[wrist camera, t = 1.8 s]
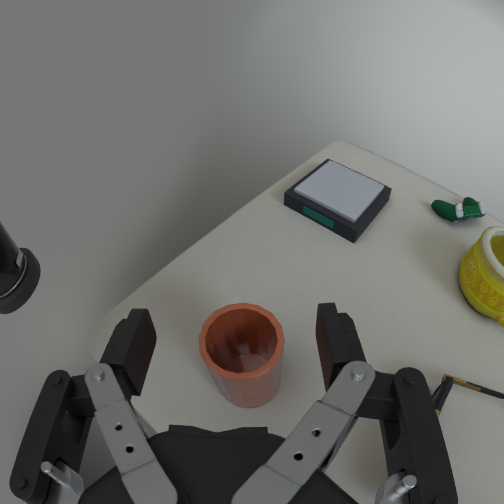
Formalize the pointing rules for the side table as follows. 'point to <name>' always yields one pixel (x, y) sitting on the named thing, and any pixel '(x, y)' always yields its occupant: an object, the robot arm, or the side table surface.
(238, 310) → the cup
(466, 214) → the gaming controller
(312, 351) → the side table surface
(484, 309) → the mug
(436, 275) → the side table surface
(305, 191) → the scale
